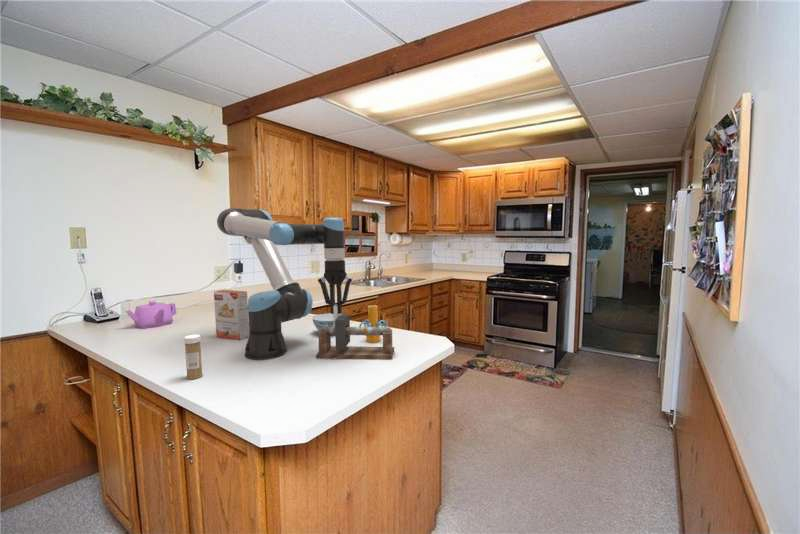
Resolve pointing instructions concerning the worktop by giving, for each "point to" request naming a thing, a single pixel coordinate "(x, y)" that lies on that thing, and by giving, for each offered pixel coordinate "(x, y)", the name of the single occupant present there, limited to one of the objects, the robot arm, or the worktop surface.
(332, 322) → the chinaware
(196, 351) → the sprinkles bottle
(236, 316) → the cracker box
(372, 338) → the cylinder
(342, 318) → the collar
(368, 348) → the pipe stand
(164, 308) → the teakettle
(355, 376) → the worktop surface
